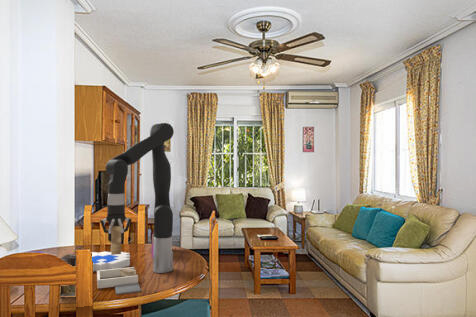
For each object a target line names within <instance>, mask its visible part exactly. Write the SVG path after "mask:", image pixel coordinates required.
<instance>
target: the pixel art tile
mask: <svg viewBox="0 0 476 317" xmlns="http://www.w3.org/2000/svg"><path fill="white" fill-rule="evenodd" d="M91 253H92V261H93V272H97V271H99V270H109V269H118V268H127V267H130V266H131V254H130V252H125V251H121V254H116V255H111V251H105V250H104V251H101V252H96V251H92V252H91Z"/></svg>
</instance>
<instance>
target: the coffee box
mask: <svg viewBox="0 0 476 317" xmlns="http://www.w3.org/2000/svg"><path fill="white" fill-rule="evenodd" d="M75 254H76V253H73V254H71V253H70V254H65V255H63V257H60V259H61V260H63V261H65V262H67V263H68V264H70V265H72V266H76V256H75ZM60 296H75V285H68V286H61V293H60V292H59V297H60Z"/></svg>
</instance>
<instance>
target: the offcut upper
mask: <svg viewBox="0 0 476 317" xmlns="http://www.w3.org/2000/svg"><path fill="white" fill-rule="evenodd" d="M123 268H124V269H121V270H120V275H122V276H135V275H137V270H136V269H134V270H133V269H129V268H128V267H123ZM122 276H121V277H122Z"/></svg>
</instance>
